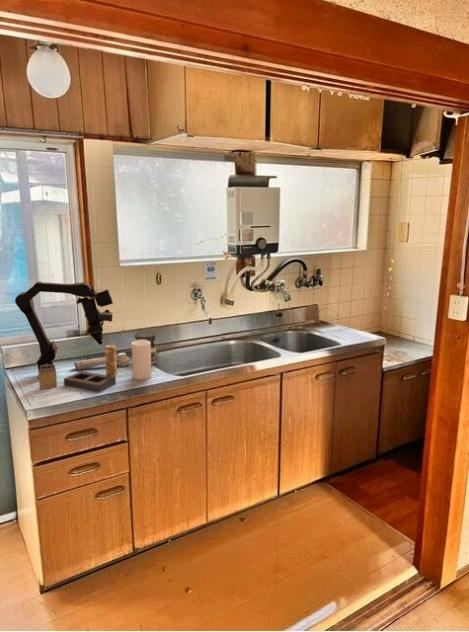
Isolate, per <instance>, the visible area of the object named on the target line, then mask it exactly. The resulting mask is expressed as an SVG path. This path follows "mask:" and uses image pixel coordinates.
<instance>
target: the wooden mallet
mask: <svg viewBox="0 0 469 632" xmlns="http://www.w3.org/2000/svg"><path fill="white" fill-rule="evenodd" d="M129 361H130V358H129V357H128V356H127V353H126V352H121V353H118V354H116V362H117V367H126V366H128V365H130V362H129ZM73 363H74V367H75V368H74V369H75V371H82V370H83V371H84V370H85V369H89V368H94V367H98V366H101V365H102V366H103V365H106V358H105V356H103V357H97V358H91V359H85V360H84V359H82V360H80V361H79V360H78V361H74V362H73Z"/></svg>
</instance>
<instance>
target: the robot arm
mask: <svg viewBox="0 0 469 632" xmlns="http://www.w3.org/2000/svg"><path fill="white" fill-rule="evenodd" d="M41 292H42V293H57V294H59V293H60V294H70V295H73V296H76V297H78V298H77V300H76V304H77V305H79V304H81V306H82V310H83V312H84V317H85V318H86V321H87V326H88V327H87V334H89V336H91V337H92V338H93V339H94V340H95V341H96V342H97V344H98V345H99V346H102V345H103V339H104V337H103V331H104V327H103V325H104V324H105V323H104V322H113V312H111V310H110V309H105V310H104V311H102V312H101V311H100V309H98V307H100V308H103V307H106V306H109V305H113V304H114V302H113V298H112V295H111V294H110V292H109V289H105V290H102V291H98V292H97V290H94V289H93V288H91V285H90V284H89V283H88V282H86V281H85V282H84V281H83V282H82V281H81V282H73V283H60V282H59V283H56V282H45V281H44V282H42V281H37V282H35V283H34V285H33V286H31V287H30V288H29V289H28V290H27V291H23V292H20V293H19V294H18V295H16V296H15V299H14V300H15V301H14V302H15V305H16V306H17V307H18V309H19V310H20V312H21V313H22V314H23V315H25V318H26V319H27V322H28V324H29V326H30V328H31V330H32V332H33V334H34V336H35V338H36V340H37V342H38V347H39V352H40V356H39V358H38V359H37V361H36V364H37V370H39V369H40V365H45V364H51V365H53V367H55V368H56V366H55V364H54V360H55V358H56V357H57V354H58V346H57V345H56V343H55V340H52V341H51V340H50V339H49V338H48V336H47V334H46V331H45V329H44V328H43V325H42V323H41V321H40V319H39V317H38V315H37V312H36V310H35V303H34V300H33V298H35V297H36V296H37V295H38V294H39V293H41ZM97 306H98V307H97ZM50 367H51V366H48V368H50ZM43 368H46V367H43ZM43 368H42V369H43ZM37 379H38V380H39V375H38V378H37Z"/></svg>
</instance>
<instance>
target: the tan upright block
mask: <svg viewBox="0 0 469 632" xmlns="http://www.w3.org/2000/svg"><path fill="white" fill-rule="evenodd" d="M53 365H54V364H53ZM53 365H51V364H45V365H40V369H39V370H38V369H37V370H38V372H37V373H38V376H39V379H38V383H39V384H38V385H39V387H38V388H39V389H40V390H45V389H48V390H49V389H53V388H56V387H57V386H58V381H57V369H56V366H55V367H53ZM48 366H51V367H50V368H48ZM43 367H46V368H43ZM42 368H43V369H42Z"/></svg>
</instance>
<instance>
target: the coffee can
mask: <svg viewBox="0 0 469 632" xmlns="http://www.w3.org/2000/svg"><path fill="white" fill-rule="evenodd" d="M156 335H157V334H156V333H155V332H151V331H140V332H137V333H134V335H133V336H134V341H138V340H146V341H150V347H151V365H152V364H155V363H156V362H157V354H156V353H157V349H156V346H157V345H156V344H157V343H156Z"/></svg>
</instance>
